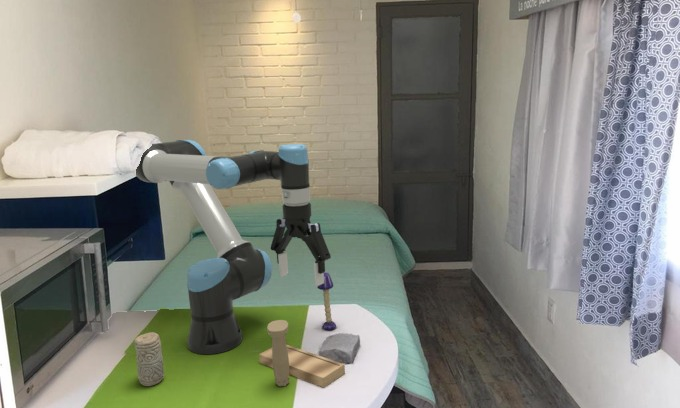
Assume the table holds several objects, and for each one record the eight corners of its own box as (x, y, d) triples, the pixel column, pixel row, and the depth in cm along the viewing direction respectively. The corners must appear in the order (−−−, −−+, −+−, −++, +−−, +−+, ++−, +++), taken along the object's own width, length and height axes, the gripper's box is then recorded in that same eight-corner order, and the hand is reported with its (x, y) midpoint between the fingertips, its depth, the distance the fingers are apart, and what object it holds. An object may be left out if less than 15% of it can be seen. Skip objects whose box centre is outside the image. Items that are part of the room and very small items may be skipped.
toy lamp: (321, 332, 162) (318, 277, 159) (318, 325, 167) (315, 272, 163) (338, 329, 163) (334, 275, 160) (334, 323, 168) (331, 270, 165)
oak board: (259, 363, 146) (259, 353, 145) (281, 351, 152) (280, 342, 151) (323, 387, 132) (323, 377, 132) (344, 373, 138) (344, 363, 138)
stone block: (318, 369, 145) (355, 364, 142) (314, 352, 144) (351, 346, 142) (328, 350, 156) (363, 345, 154) (324, 334, 156) (359, 328, 153)
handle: (271, 391, 132) (265, 332, 129) (273, 377, 138) (269, 320, 135) (291, 390, 132) (286, 330, 129) (293, 376, 138) (289, 319, 135)
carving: (142, 391, 135) (136, 345, 132) (135, 379, 141) (129, 334, 139) (169, 383, 138) (163, 338, 136) (161, 371, 144) (155, 327, 142)
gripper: (254, 201, 153) (260, 275, 157) (322, 210, 137) (327, 292, 142) (273, 196, 159) (279, 268, 163) (341, 204, 143) (345, 284, 148)
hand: (301, 280), depth 152 cm, fingers open, 12 cm apart
